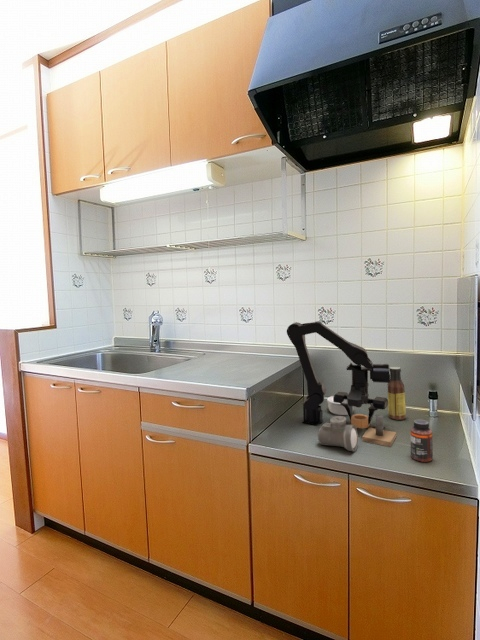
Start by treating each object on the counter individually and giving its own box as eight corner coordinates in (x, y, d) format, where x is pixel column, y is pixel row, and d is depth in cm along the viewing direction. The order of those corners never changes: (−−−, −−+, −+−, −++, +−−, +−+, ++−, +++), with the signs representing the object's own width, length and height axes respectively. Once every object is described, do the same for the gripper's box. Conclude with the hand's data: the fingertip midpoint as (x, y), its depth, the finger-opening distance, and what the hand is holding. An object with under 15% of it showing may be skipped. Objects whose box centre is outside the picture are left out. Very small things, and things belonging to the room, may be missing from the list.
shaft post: (362, 440, 122) (362, 417, 121) (369, 431, 130) (369, 409, 129) (390, 446, 117) (390, 422, 116) (396, 436, 124) (396, 414, 124)
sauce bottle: (406, 416, 142) (406, 366, 141) (404, 421, 137) (404, 370, 135) (389, 413, 146) (389, 365, 144) (386, 418, 141) (385, 368, 139)
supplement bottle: (429, 454, 111) (429, 418, 110) (435, 463, 105) (435, 425, 104) (408, 453, 112) (408, 417, 111) (413, 462, 107) (413, 425, 106)
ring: (349, 426, 135) (349, 418, 135) (354, 420, 140) (354, 413, 140) (366, 429, 131) (366, 421, 131) (371, 423, 137) (370, 416, 136)
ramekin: (358, 409, 153) (358, 397, 152) (351, 418, 143) (351, 405, 143) (332, 405, 159) (332, 394, 158) (323, 413, 149) (323, 401, 149)
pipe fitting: (361, 444, 119) (356, 414, 118) (353, 456, 112) (348, 424, 111) (326, 440, 126) (321, 412, 125) (317, 451, 119) (312, 422, 118)
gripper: (327, 384, 133) (328, 425, 134) (380, 390, 122) (381, 435, 124) (338, 377, 142) (338, 415, 143) (388, 382, 131) (388, 424, 133)
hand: (360, 422), depth 136 cm, fingers closed on ring, 6 cm apart
